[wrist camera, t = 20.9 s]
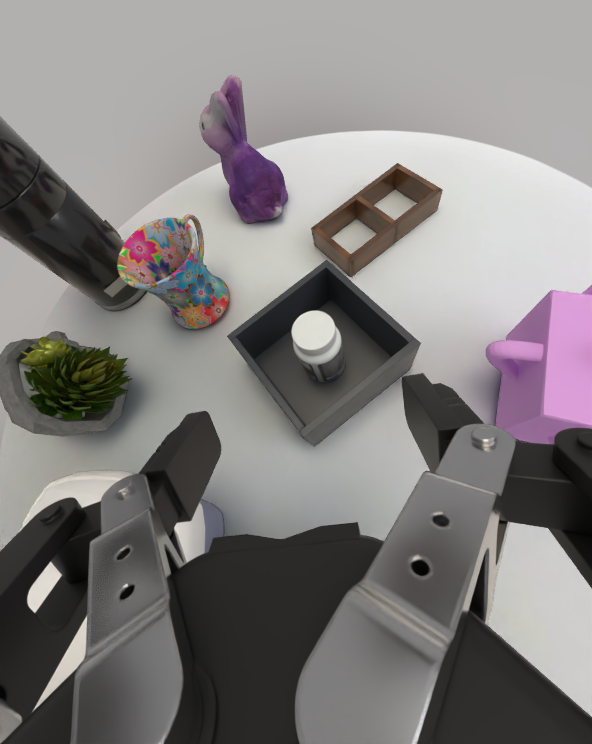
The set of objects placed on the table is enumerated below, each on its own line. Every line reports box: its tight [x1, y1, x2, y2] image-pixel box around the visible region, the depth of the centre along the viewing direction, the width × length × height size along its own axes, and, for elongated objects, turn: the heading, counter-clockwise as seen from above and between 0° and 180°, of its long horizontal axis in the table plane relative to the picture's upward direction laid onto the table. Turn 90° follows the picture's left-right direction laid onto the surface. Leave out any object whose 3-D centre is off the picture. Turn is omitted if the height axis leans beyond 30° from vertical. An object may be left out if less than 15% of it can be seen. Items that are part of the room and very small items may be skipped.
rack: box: [311, 163, 443, 277], centre depth 39 cm, size 8×15×3 cm, turn 127°
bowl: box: [18, 470, 224, 711], centre depth 26 cm, size 15×15×11 cm
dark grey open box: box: [227, 260, 421, 446], centre depth 32 cm, size 13×13×7 cm
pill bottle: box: [292, 311, 345, 383], centre depth 30 cm, size 5×5×8 cm
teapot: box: [486, 285, 592, 444], centre depth 24 cm, size 15×13×11 cm
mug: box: [117, 215, 229, 329], centre depth 37 cm, size 12×9×11 cm
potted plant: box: [0, 331, 132, 436], centre depth 34 cm, size 12×13×15 cm
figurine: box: [199, 75, 288, 223], centre depth 40 cm, size 9×10×15 cm
